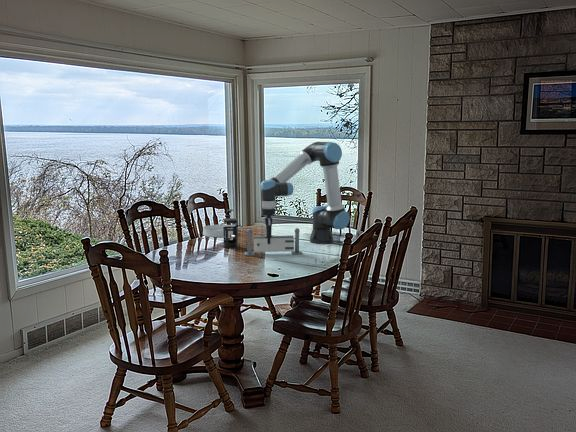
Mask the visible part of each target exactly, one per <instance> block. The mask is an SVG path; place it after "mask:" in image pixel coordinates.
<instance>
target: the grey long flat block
mask: <svg viewBox="0 0 576 432" xmlns="http://www.w3.org/2000/svg"><path fill="white" fill-rule="evenodd" d="M271 236H272V237H271V249H268V250H266V238H265V237H266V235H253V252H255V253H269V252H270V253H272V252H273V253H276V252H277V253H279V252H280V253H283V252H291V251H295V235H271Z"/></svg>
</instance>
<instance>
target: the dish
mask: <svg viewBox="0 0 576 432" xmlns="http://www.w3.org/2000/svg"><path fill="white" fill-rule="evenodd" d="M226 226H230V224H210V225H205V226H203V227H202V236H204V237H208V238H224V230H223V227H226ZM231 226H233V224H231ZM227 229H230V228H227ZM231 229H233V228H231ZM228 235H230V231H228ZM231 235H233V231H231ZM225 236H226V231H225Z"/></svg>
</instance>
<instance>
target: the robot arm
mask: <svg viewBox="0 0 576 432" xmlns="http://www.w3.org/2000/svg"><path fill="white" fill-rule="evenodd" d="M342 156H343V152H342V147H341V146H340V145H339V144H338V143H337V142H333V141H316V142H312V143H311V144H309V145H308V146H305V148H304V149H302V150H301V151H300V152H299V155H298V156H297V157H295V158H294V159H293V160H292V161H290V162H289V163H288V164H286V166H284V167H283V168H281V170H280V171H278V172H277V173H276V174H275V175H273V176H272V177H271V178H269V179H265V180H263V181H261V183H260V186H259V187H260V191H261V202H260V204H261V215H263V216H266V217H265V218H264V221H265V222H264V223H265V236H266V237H265V238H266V250H268V249H271V237H272V236H273V235H272V229H273V228H272V227H273V216H275V215H276V197H288V196H292V195H293V193H294V190H295V189H294V185H293V184H292V183H291V182H288V181H290V180H291V179H292V178H293V177H295V175H297V174H298V173H299V172H301V171H302V169H304V168H305V167H306V166H307V165H311V164H312V163H315V162H319V166H320V167H321V168H322V170H323V171H322V172H323V177H324V186H325V187H324V188H325V195H326V202H327V205H320V206H319V205H317V206H314V207H313V209H312V231H311V233H310V236H309V243H313V244H317V245H318V244H320V245H323V244H332V243H334V236H333V233H332V229H334V230H344V229H345V228H347V226H348V225H349V223H350V218H351V215H350V214H349V212H348V211H346V208H345V204H343V203H342V195H341V188H340V181H339V180H340V179H339V173H338V172H339V171H338V170H339V169H338V166H339V164H340V160H341V159H342Z"/></svg>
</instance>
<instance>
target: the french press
mask: <svg viewBox="0 0 576 432" xmlns="http://www.w3.org/2000/svg"><path fill="white" fill-rule="evenodd" d="M226 211H228V212H229V218H223V219H222V221H223V223H224V224H225V223H229V225H230V226H226V227H223V230H224V237H223V242H222V244H223V245H222V247H223V248H224V249H237V248H238V247H239V240H238V238H239V237H238V230H239V227H238V226H237V225H235V224H238V219H237V218H233V217H231V216H232V214H231V213H232V212H233V211H234V209H226ZM231 225H232V226H231ZM227 228H230V229H227ZM231 228H233V229H231ZM225 231H226V236H225ZM228 231H230V235H228ZM231 231H233V235H231Z"/></svg>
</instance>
